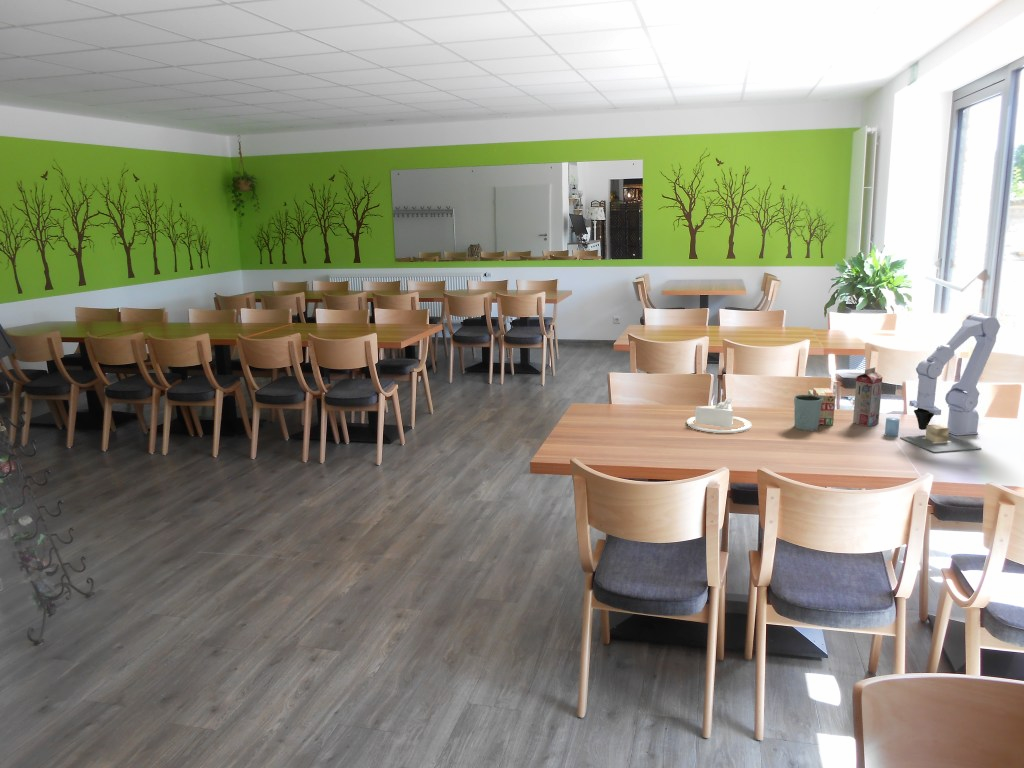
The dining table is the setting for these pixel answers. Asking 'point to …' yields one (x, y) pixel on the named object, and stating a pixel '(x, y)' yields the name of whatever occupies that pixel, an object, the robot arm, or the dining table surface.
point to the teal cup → (807, 411)
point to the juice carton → (867, 398)
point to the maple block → (937, 433)
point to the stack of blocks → (825, 404)
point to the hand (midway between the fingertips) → (922, 429)
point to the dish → (717, 418)
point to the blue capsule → (892, 426)
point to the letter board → (940, 444)
